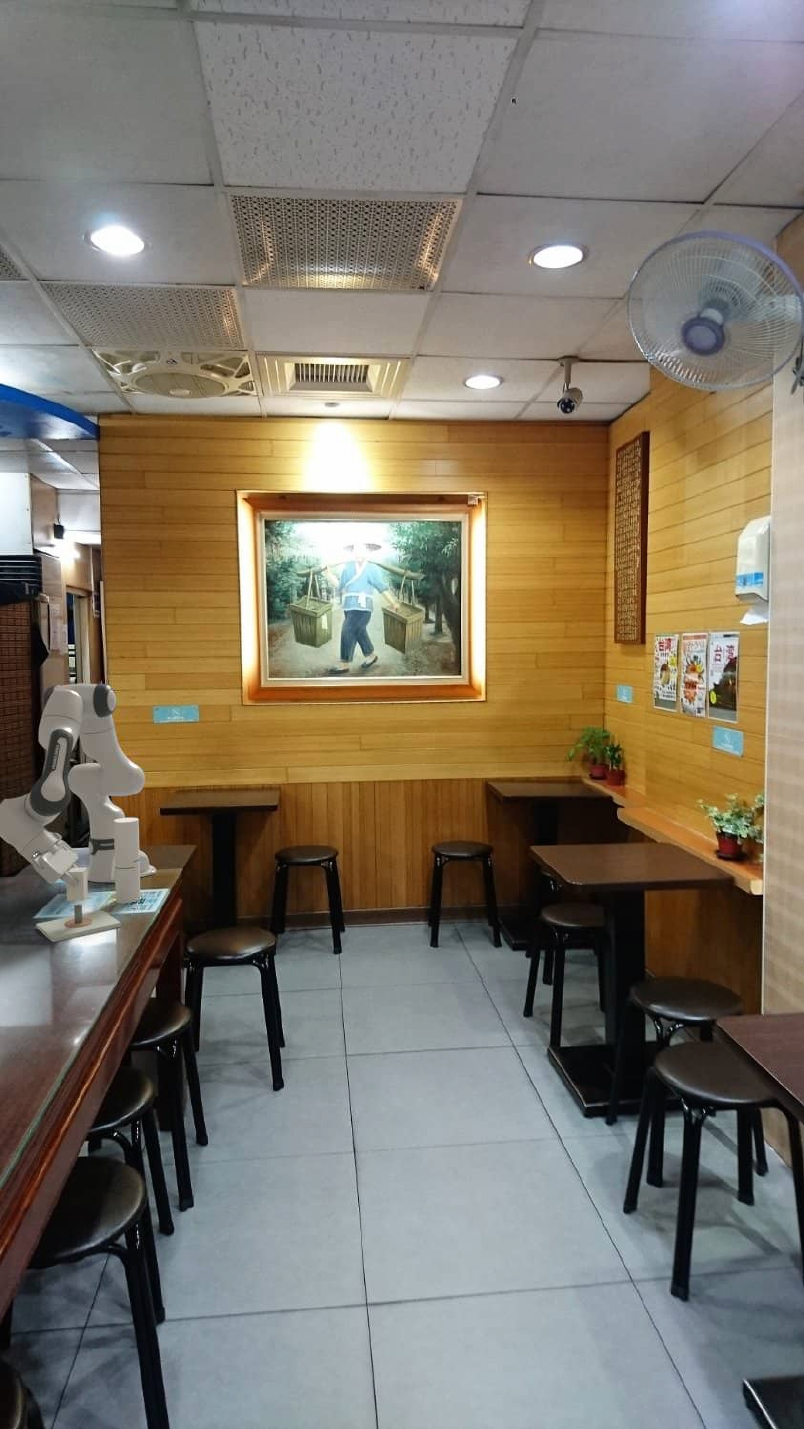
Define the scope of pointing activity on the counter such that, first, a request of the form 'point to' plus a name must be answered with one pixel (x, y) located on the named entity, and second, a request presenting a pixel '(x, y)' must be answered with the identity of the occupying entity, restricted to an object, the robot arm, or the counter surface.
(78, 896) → the square block
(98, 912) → the base plate
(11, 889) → the counter surface
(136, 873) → the cylindrical container
